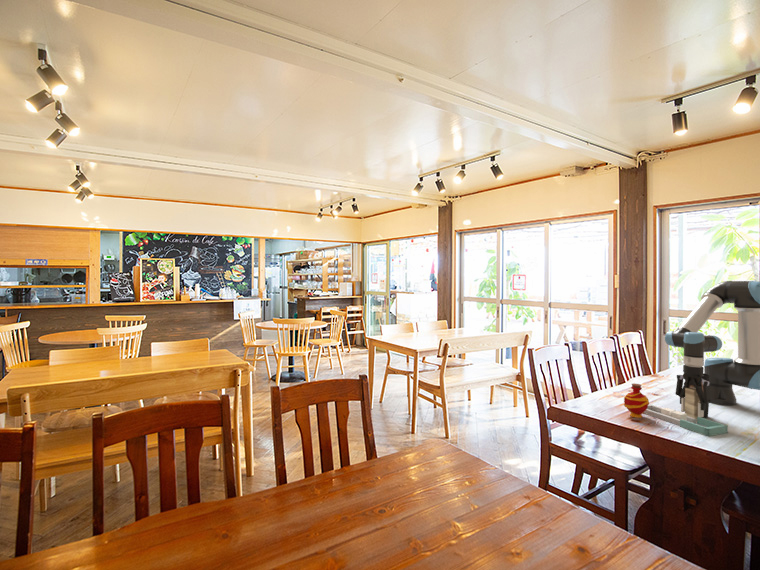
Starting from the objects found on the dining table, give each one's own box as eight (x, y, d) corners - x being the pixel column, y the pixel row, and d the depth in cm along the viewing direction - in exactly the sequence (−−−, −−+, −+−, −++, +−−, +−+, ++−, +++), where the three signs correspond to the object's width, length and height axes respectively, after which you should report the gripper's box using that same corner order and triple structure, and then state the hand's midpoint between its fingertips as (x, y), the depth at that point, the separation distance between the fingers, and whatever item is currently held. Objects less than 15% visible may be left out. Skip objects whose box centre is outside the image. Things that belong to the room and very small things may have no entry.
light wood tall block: (690, 416, 191) (691, 387, 190) (699, 419, 187) (700, 389, 187) (684, 417, 189) (685, 387, 189) (693, 420, 186) (694, 390, 185)
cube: (677, 419, 187) (677, 411, 186) (686, 422, 183) (686, 413, 183) (671, 420, 185) (671, 411, 185) (680, 423, 182) (680, 414, 181)
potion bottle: (641, 421, 184) (641, 388, 184) (618, 414, 193) (619, 383, 193) (654, 417, 189) (654, 385, 189) (631, 410, 198) (632, 380, 198)
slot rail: (650, 408, 202) (650, 404, 202) (695, 423, 182) (696, 418, 182) (635, 410, 199) (636, 406, 199) (680, 425, 179) (680, 421, 179)
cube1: (667, 416, 191) (667, 407, 191) (675, 418, 188) (675, 410, 187) (661, 416, 190) (661, 408, 190) (669, 419, 186) (669, 411, 186)
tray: (698, 423, 182) (698, 416, 182) (727, 432, 171) (727, 425, 171) (679, 426, 178) (679, 419, 178) (708, 436, 167) (708, 428, 167)
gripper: (666, 361, 196) (665, 408, 196) (710, 370, 177) (709, 422, 178) (677, 360, 198) (676, 406, 199) (722, 369, 179) (721, 420, 180)
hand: (692, 414), depth 188 cm, fingers open, 7 cm apart
